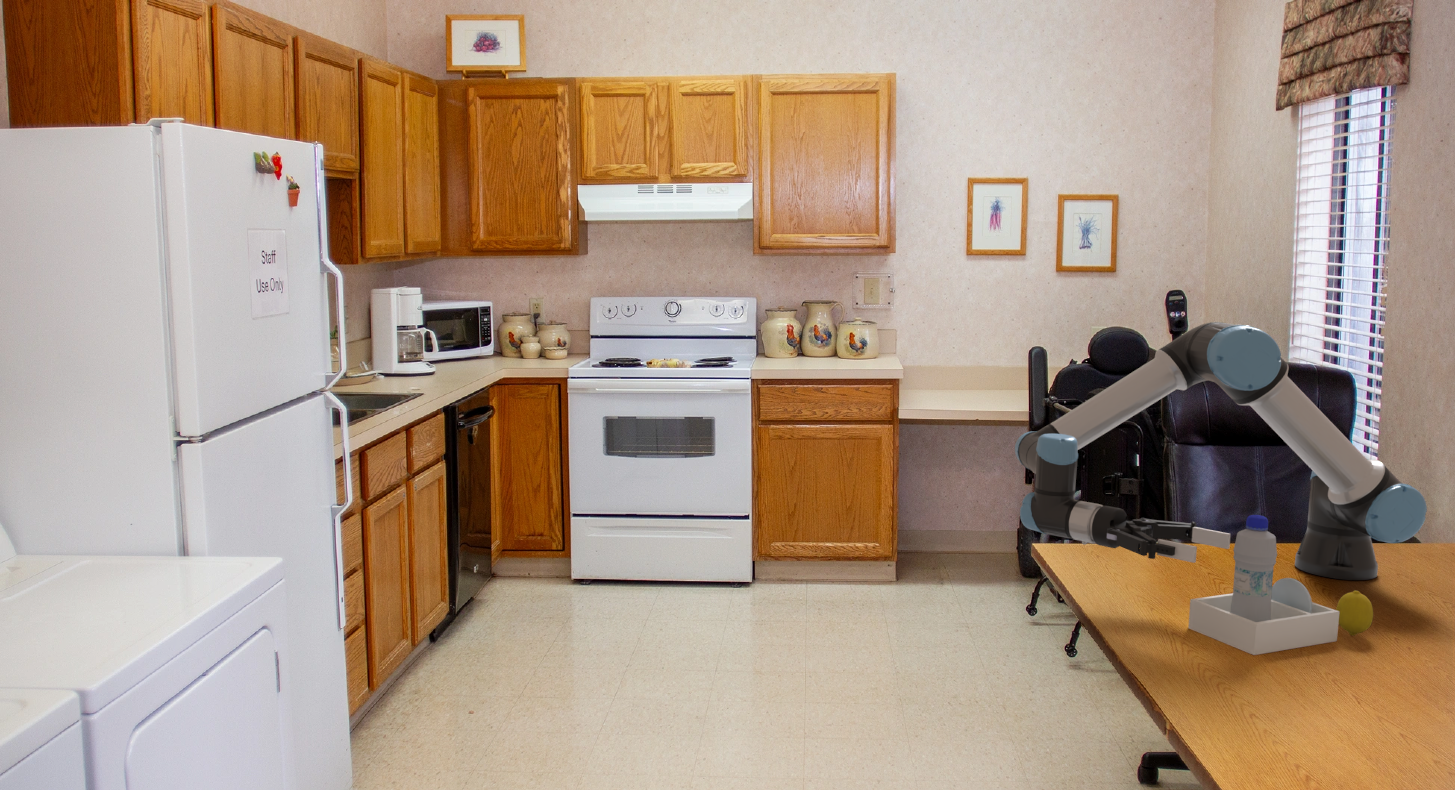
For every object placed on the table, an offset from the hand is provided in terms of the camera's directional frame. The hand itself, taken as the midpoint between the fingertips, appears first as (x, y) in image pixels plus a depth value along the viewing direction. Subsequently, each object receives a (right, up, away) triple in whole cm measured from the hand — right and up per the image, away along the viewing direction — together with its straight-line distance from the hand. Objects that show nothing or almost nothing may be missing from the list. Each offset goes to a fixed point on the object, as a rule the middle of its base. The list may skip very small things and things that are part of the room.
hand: (1212, 547), depth 195 cm
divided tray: (+7, -15, -2) cm, 16 cm away
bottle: (+5, -14, -4) cm, 15 cm away
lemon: (+23, -15, -2) cm, 28 cm away
